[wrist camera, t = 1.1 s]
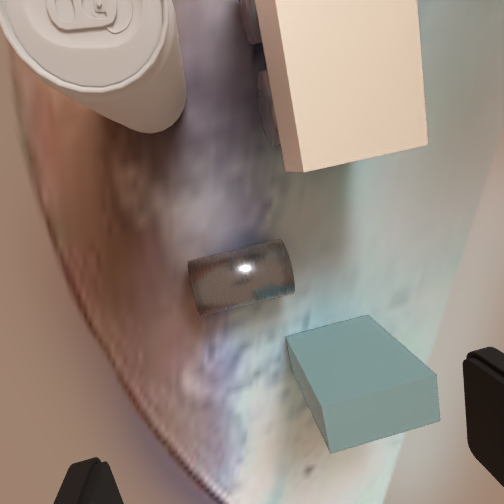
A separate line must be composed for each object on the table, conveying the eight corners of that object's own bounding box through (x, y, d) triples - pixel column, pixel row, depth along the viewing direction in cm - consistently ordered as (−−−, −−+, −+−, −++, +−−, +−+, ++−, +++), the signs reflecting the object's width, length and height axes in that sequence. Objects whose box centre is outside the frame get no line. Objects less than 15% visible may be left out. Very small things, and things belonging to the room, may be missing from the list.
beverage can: (193, 129, 22) (187, 89, 11) (112, 139, 22) (15, 108, 10) (179, 43, 21) (156, -108, 9) (94, 51, 20) (-42, -99, 9)
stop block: (368, 314, 27) (436, 374, 19) (373, 350, 28) (440, 421, 20) (285, 336, 26) (321, 406, 19) (292, 371, 27) (330, 453, 19)
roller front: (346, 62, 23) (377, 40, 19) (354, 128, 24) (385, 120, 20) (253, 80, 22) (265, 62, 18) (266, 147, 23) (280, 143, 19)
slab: (362, -112, 17) (403, -181, 14) (389, 148, 20) (428, 145, 17) (238, -93, 16) (248, -160, 13) (285, 171, 19) (303, 172, 16)
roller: (275, 234, 25) (288, 246, 21) (284, 282, 26) (298, 302, 22) (188, 254, 24) (187, 270, 21) (201, 303, 25) (202, 326, 22)
